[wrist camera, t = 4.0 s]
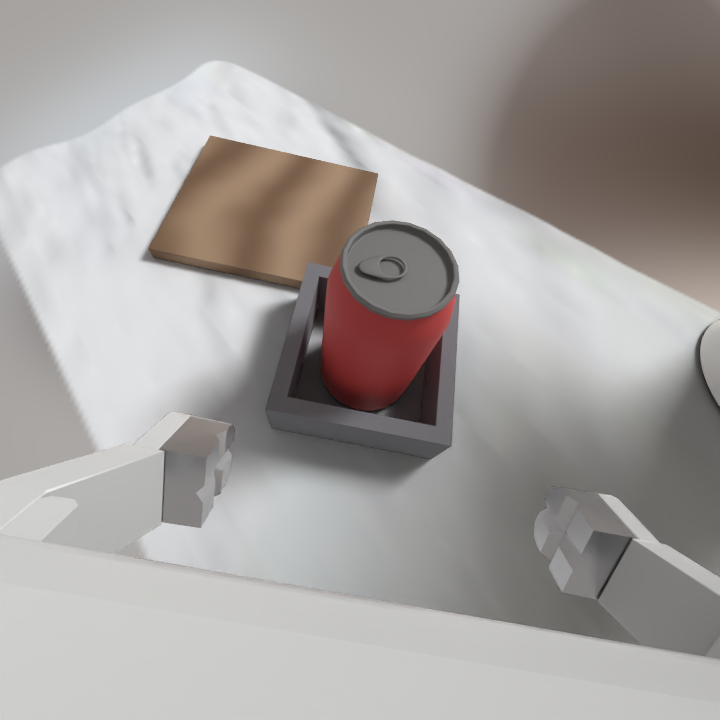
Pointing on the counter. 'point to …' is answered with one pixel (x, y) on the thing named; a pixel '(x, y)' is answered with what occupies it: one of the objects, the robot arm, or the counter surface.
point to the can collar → (351, 423)
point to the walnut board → (263, 212)
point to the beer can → (385, 311)
